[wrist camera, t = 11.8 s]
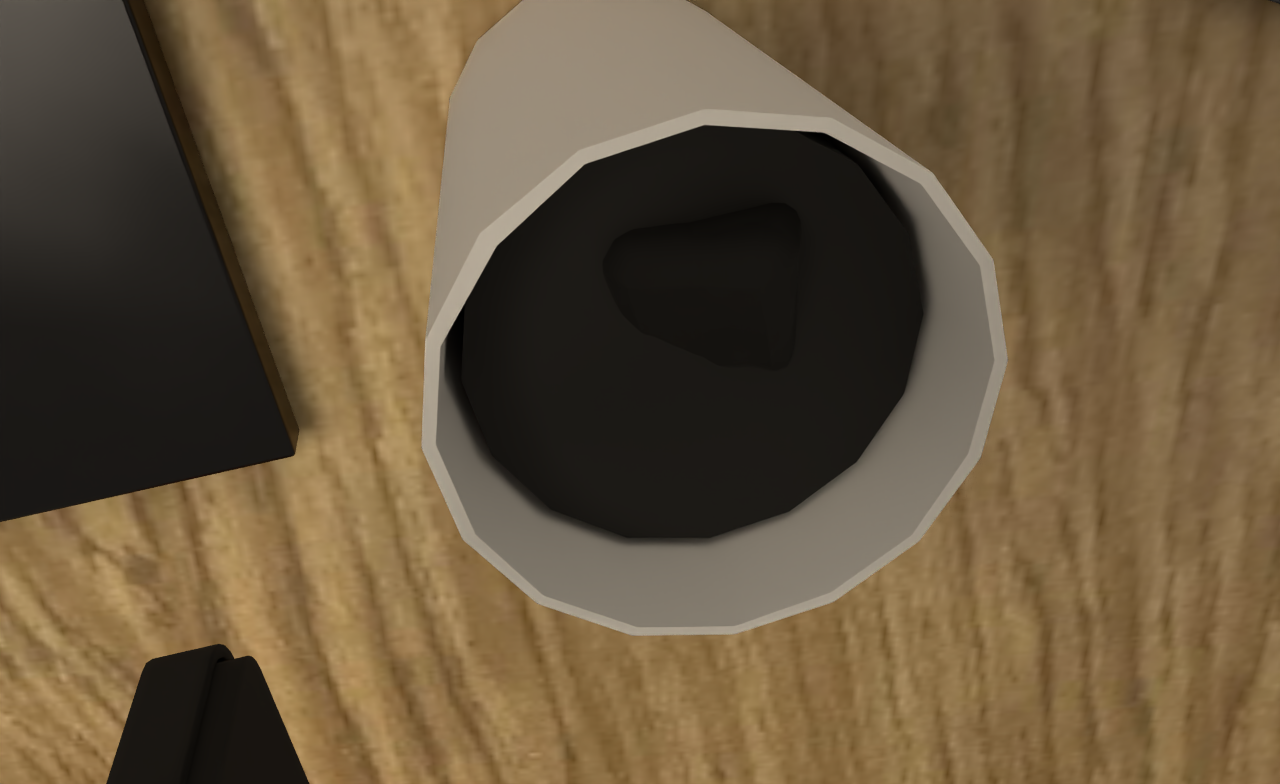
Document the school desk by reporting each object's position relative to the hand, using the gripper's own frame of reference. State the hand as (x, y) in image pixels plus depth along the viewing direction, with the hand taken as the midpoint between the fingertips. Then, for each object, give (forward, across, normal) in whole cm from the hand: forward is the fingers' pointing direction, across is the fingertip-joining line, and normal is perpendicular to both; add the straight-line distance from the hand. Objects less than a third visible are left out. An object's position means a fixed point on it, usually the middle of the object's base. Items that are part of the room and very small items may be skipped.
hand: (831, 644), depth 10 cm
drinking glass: (+14, 0, 0) cm, 14 cm away
